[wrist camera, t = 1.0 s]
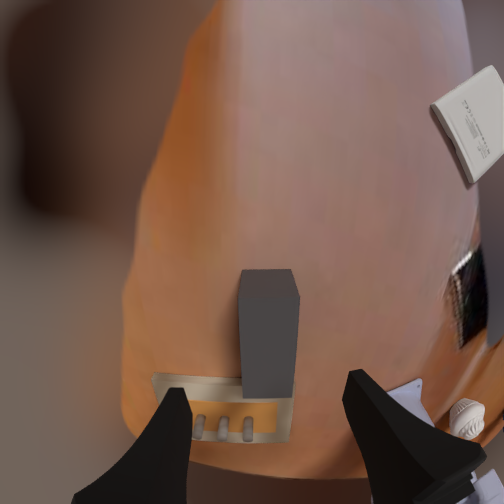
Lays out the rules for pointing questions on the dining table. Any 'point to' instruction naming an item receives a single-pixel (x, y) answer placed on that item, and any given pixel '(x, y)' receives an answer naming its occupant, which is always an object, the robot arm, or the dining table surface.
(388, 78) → the dining table surface
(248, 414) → the board
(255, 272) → the block
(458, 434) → the muffin
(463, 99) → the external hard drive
